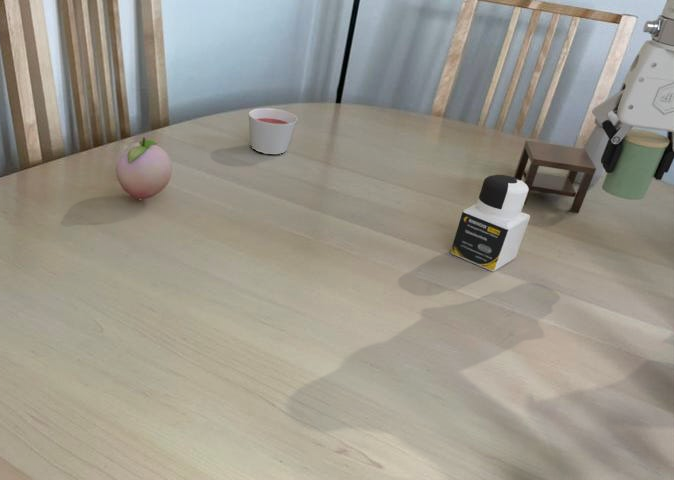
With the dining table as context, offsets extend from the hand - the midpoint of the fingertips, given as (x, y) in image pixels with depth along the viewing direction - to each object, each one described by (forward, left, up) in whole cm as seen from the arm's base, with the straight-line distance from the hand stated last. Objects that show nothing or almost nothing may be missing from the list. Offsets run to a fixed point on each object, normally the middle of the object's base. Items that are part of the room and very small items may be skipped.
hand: (631, 171), depth 103 cm
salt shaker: (-6, -37, -15) cm, 40 cm away
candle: (+53, -27, -15) cm, 61 cm away
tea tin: (0, 0, -3) cm, 3 cm away
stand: (+3, -25, -14) cm, 29 cm away
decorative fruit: (+68, +5, -15) cm, 70 cm away
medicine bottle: (+16, +4, -15) cm, 22 cm away
